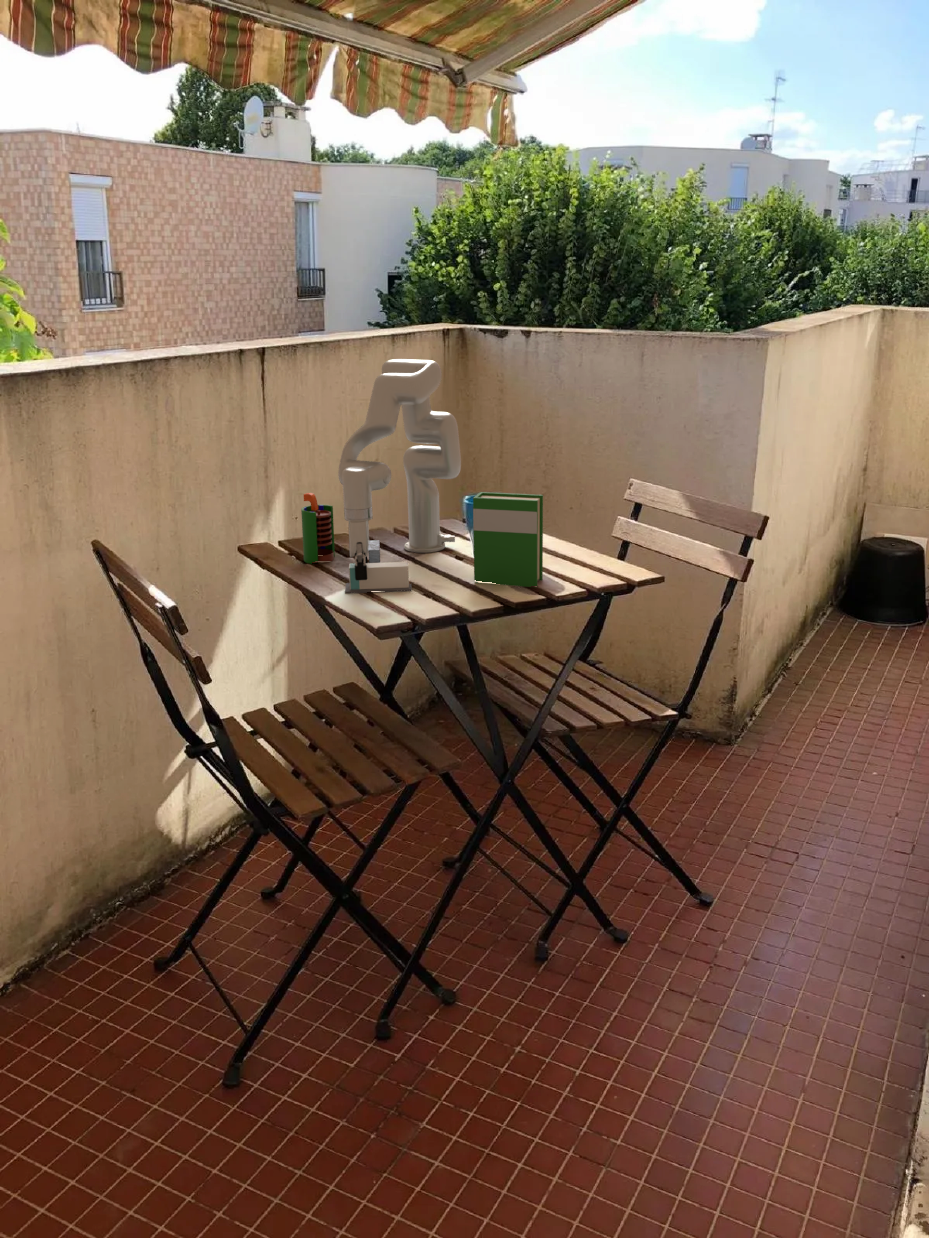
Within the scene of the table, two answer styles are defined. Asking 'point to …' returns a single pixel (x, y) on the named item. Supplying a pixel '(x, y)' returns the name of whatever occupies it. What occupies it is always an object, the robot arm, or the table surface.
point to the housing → (374, 551)
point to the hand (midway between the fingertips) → (361, 574)
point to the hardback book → (508, 538)
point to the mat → (347, 589)
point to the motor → (317, 531)
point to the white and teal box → (381, 576)
